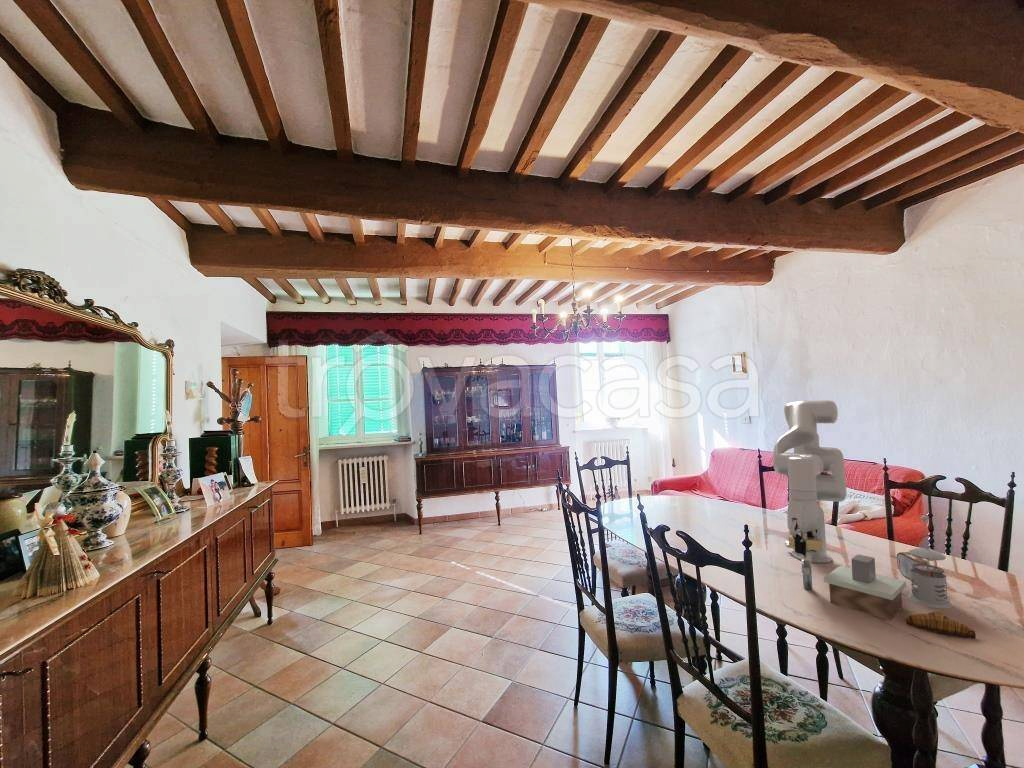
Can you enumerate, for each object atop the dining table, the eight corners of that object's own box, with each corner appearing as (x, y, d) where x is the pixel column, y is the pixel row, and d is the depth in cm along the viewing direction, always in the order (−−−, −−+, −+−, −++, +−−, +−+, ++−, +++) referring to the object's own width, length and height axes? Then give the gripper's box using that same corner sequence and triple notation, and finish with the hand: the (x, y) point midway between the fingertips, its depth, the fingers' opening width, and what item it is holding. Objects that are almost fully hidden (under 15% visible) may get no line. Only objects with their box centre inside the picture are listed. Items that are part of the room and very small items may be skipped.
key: (791, 583, 146) (789, 535, 147) (825, 589, 141) (822, 539, 142) (789, 594, 138) (787, 543, 139) (825, 601, 133) (822, 548, 133)
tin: (938, 591, 138) (936, 564, 139) (926, 591, 139) (924, 563, 139) (905, 573, 153) (904, 548, 153) (895, 572, 154) (893, 548, 154)
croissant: (906, 630, 117) (905, 610, 117) (903, 619, 122) (902, 601, 122) (980, 645, 109) (978, 624, 109) (972, 633, 114) (971, 613, 115)
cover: (824, 582, 133) (822, 556, 133) (840, 570, 142) (839, 546, 142) (892, 600, 120) (890, 572, 121) (906, 586, 129) (904, 560, 129)
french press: (903, 600, 133) (898, 515, 134) (913, 589, 140) (908, 509, 141) (949, 611, 125) (943, 522, 126) (957, 599, 132) (951, 515, 133)
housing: (830, 602, 133) (829, 582, 133) (844, 591, 140) (843, 572, 140) (890, 620, 121) (889, 597, 122) (902, 607, 129) (900, 586, 129)
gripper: (805, 490, 151) (808, 544, 150) (775, 496, 143) (778, 553, 143) (830, 493, 145) (833, 550, 144) (799, 500, 137) (802, 560, 136)
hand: (805, 551), depth 143 cm, fingers closed on key, 4 cm apart
